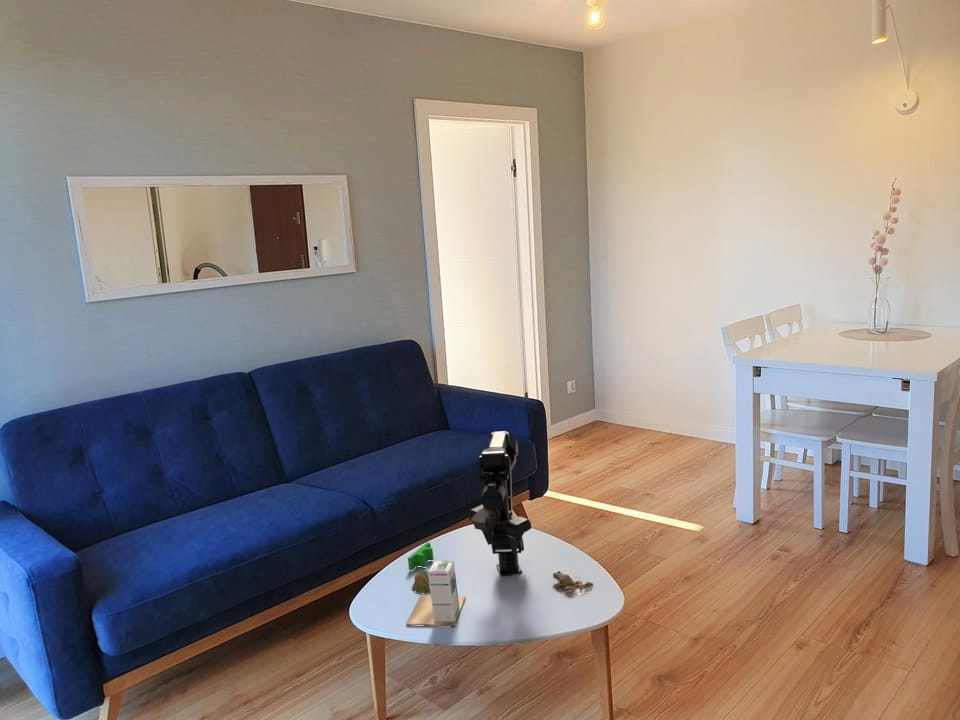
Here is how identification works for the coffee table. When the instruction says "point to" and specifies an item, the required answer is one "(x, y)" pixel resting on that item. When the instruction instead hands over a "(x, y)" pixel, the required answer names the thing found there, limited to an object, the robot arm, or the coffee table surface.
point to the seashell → (421, 582)
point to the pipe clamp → (420, 556)
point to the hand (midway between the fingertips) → (501, 548)
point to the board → (429, 613)
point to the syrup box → (443, 591)
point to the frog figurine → (570, 584)
